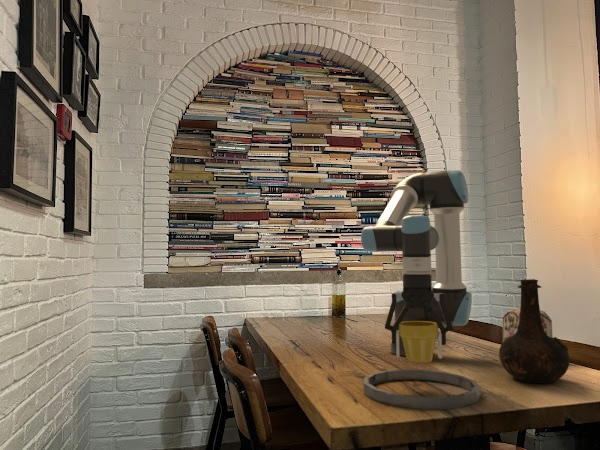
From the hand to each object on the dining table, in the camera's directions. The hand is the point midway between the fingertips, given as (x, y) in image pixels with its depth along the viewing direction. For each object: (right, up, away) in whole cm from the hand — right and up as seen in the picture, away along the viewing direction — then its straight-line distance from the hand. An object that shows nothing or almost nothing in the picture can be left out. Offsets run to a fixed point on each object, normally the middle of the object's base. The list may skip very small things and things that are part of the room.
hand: (418, 356), depth 132 cm
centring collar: (-1, -7, -6) cm, 10 cm away
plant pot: (0, -1, 0) cm, 1 cm away
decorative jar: (+47, -11, +38) cm, 61 cm away
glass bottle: (+34, -8, +7) cm, 35 cm away
